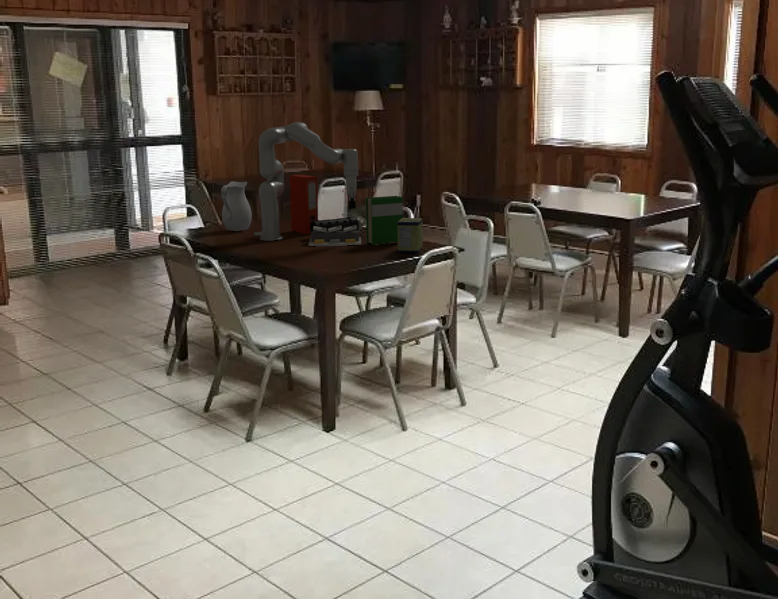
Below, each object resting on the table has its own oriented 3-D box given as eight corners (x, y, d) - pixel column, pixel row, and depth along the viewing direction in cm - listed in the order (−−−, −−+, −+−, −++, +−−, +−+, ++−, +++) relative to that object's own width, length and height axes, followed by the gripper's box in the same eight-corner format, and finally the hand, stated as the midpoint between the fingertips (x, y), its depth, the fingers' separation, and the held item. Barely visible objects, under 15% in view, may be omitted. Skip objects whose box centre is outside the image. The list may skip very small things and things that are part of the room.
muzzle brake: (309, 238, 463) (308, 219, 461) (353, 233, 478) (352, 215, 476) (318, 240, 455) (317, 221, 453) (362, 235, 470) (361, 216, 468)
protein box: (422, 248, 427) (422, 217, 423) (418, 254, 412) (418, 222, 408) (402, 248, 429) (402, 217, 425) (397, 253, 414) (397, 222, 410)
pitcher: (232, 228, 502) (229, 180, 496) (257, 229, 497) (255, 181, 490) (211, 234, 481) (207, 184, 474) (237, 235, 475) (234, 185, 468)
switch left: (312, 229, 442) (313, 227, 442) (313, 228, 448) (313, 225, 447) (325, 232, 443) (326, 229, 443) (326, 230, 448) (326, 228, 448)
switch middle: (328, 232, 443) (328, 229, 443) (329, 230, 448) (328, 228, 448) (341, 229, 443) (340, 226, 442) (341, 227, 448) (340, 224, 448)
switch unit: (308, 246, 436) (308, 234, 435) (310, 240, 455) (310, 228, 454) (361, 245, 437) (360, 233, 436) (360, 239, 456) (360, 227, 455)
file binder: (303, 229, 492) (301, 174, 484) (318, 233, 478) (317, 176, 470) (291, 231, 487) (289, 175, 480) (306, 235, 473) (304, 177, 466)
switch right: (344, 232, 443) (343, 229, 443) (344, 230, 449) (343, 228, 448) (356, 228, 443) (356, 226, 443) (356, 227, 449) (356, 224, 448)
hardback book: (372, 245, 436) (371, 199, 431) (366, 243, 443) (365, 197, 437) (403, 242, 444) (402, 197, 438) (396, 240, 450) (396, 195, 445)
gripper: (344, 172, 446) (345, 207, 450) (343, 174, 432) (345, 210, 436) (358, 171, 446) (359, 206, 451) (358, 174, 432) (359, 210, 436)
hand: (352, 208), depth 443 cm, fingers closed
